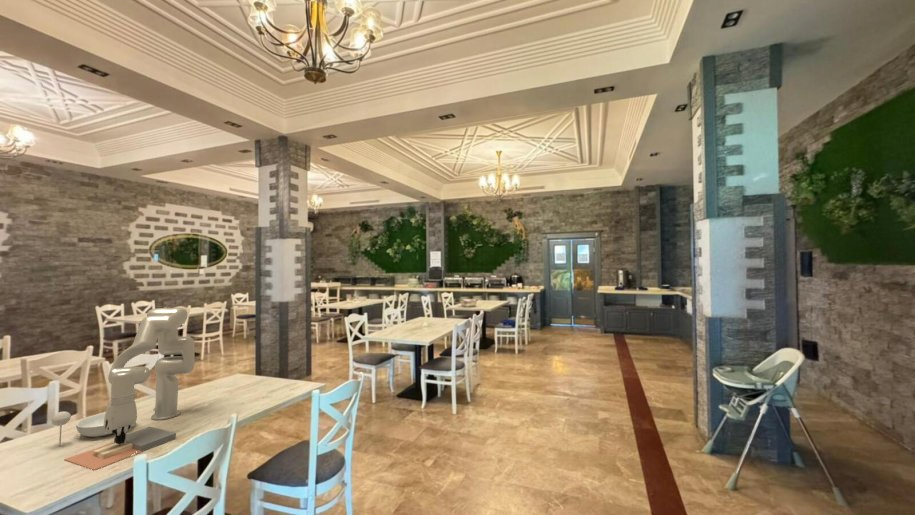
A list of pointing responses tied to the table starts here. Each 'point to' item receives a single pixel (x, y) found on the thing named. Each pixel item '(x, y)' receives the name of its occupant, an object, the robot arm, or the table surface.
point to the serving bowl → (92, 426)
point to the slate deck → (148, 438)
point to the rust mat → (95, 462)
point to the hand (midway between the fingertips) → (120, 443)
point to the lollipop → (61, 421)
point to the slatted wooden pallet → (112, 450)
